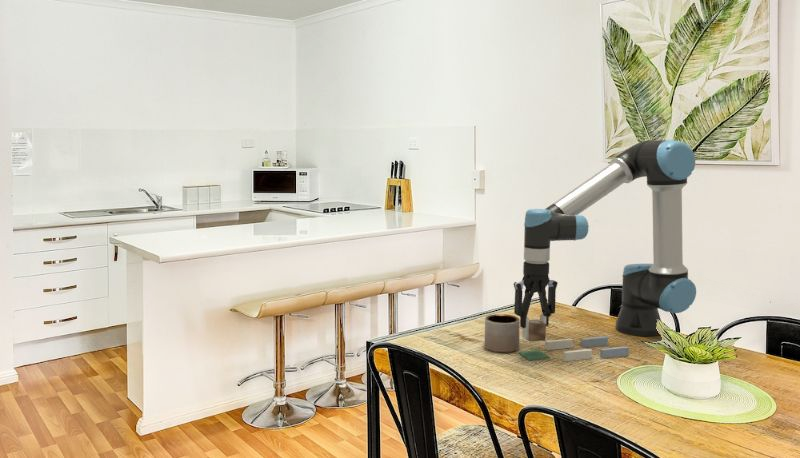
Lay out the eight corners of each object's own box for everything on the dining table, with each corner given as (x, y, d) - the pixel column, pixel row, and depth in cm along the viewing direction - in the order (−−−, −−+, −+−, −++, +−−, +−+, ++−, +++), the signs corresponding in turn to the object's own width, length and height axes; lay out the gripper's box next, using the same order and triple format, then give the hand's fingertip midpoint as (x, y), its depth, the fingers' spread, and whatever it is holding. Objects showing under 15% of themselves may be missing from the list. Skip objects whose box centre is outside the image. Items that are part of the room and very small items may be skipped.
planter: (518, 354, 200) (519, 324, 199) (483, 352, 202) (483, 322, 201) (519, 343, 211) (520, 314, 209) (485, 341, 213) (486, 313, 211)
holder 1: (570, 346, 208) (571, 338, 207) (591, 358, 196) (592, 350, 196) (545, 349, 205) (545, 341, 205) (564, 361, 194) (565, 352, 193)
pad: (538, 351, 203) (538, 349, 203) (550, 358, 196) (550, 356, 196) (518, 353, 201) (518, 351, 201) (528, 360, 194) (528, 358, 194)
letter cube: (537, 335, 201) (538, 319, 200) (545, 340, 196) (546, 323, 195) (522, 336, 199) (523, 320, 199) (530, 341, 195) (530, 324, 194)
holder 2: (605, 344, 210) (606, 336, 210) (628, 355, 199) (628, 347, 198) (580, 346, 207) (581, 338, 207) (602, 358, 196) (602, 350, 196)
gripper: (557, 257, 201) (554, 331, 204) (503, 260, 196) (501, 336, 199) (570, 262, 193) (566, 338, 197) (514, 265, 188) (512, 343, 192)
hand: (533, 337), depth 198 cm, fingers closed on letter cube, 5 cm apart
